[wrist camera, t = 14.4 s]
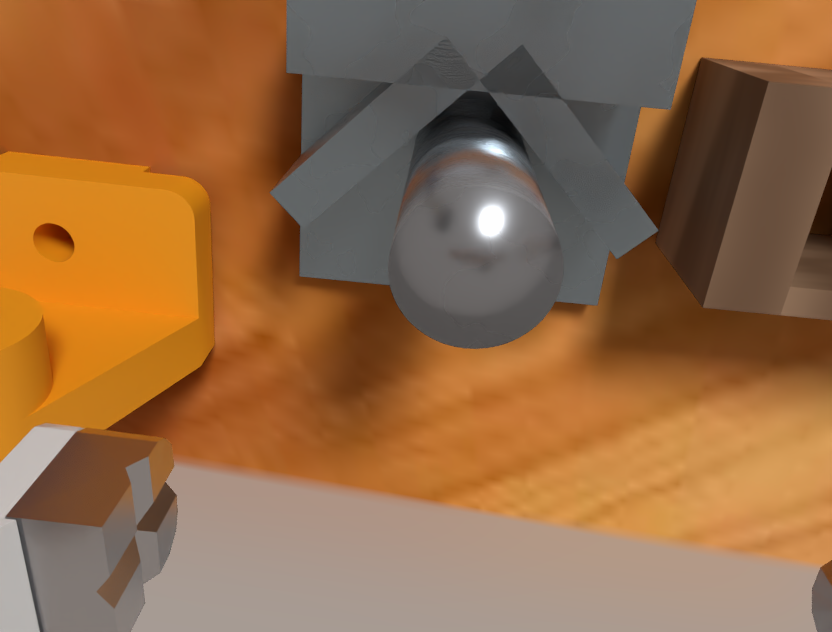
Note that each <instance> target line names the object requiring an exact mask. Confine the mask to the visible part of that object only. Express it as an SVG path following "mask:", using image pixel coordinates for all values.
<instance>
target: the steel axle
mask: <svg viewBox="0 0 832 632" xmlns="http://www.w3.org/2000/svg"><path fill="white" fill-rule="evenodd" d="M563 273H564V259H563V253H562V248H561V245H560V241H559V238H558V236H557V233H556V230H555V227H554V225H553V222H552V219H551V216H550V214H549V211H548V208H547V206H546V203H545V200H544V197H543V195H542V192H541V189H540V186H539V184H538V181H537V178H536V175H535V173H534V170H533V167H532V165H531V162H530V159H529V156H528V154H527V151H526V148H525V145H524V143H523V140H522V137H521V135H520V132H519V131H518V130H517V128H516V127H515V126H514V125H513V123H512V122H511V121H510V119H509V118H508V117H507V115H506V114H505V113H504V112H503V110H502V109H501V108H499V107H498V106H496V105H494V104H492V103H490V102H487V101H484V100H479V99H460V100H456V101H454V102H453V103H452V104H451V105H450V106H448V107H447V108H446V109H445V110H444V111H442V112H441V113H440V114H439V115H438V116H436V117H435V118H434V119H433V120H432V121H431V122H429V123H428V124H427V125H426V126H425V127H423V128H422V129H421V130H420V131H419V133H418V135H417V138H416V142H415V146H414V150H413V154H412V159H411V163H410V167H409V172H408V176H407V180H406V184H405V189H404V193H403V197H402V202H401V206H400V210H399V215H398V219H397V223H396V228H395V232H394V236H393V240H392V245H391V249H390V254H389V261H388V277H389V284H390V288H391V291H392V295H393V297H394V299H395V301H396V304H397V305H398V307H399V309H400V310H401V312H402V313H403V315H404V316H405V317H406V318H407V319H408V321H409V322H410V323H411V324H413V325H414V326H415V327H416V328H417V329H418V330H420V331H421V332H422V333H424V334H425V335H427V336H429V337H430V338H432V339H434V340H436V341H439V342H441V343H444V344H447V345H451V346H454V347H461V348H472V349H478V348H489V347H494V346H499V345H502V344H505V343H508V342H511V341H513V340H515V339H517V338H519V337H521V336H523V335H524V334H526V333H528V332H529V331H530V330H531V329H533V328H534V327H535V326H536V325H537V324H539V323H540V322H541V321H542V320H543V319H544V317H545V316H546V315H547V313H548V312H549V311H550V310H551V308H552V306H553V304H554V303H555V301H556V299H557V296H558V294H559V292H560V288H561V285H562V281H563Z"/></svg>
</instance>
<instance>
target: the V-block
mask: <svg viewBox="0 0 832 632" xmlns="http://www.w3.org/2000/svg"><path fill="white" fill-rule="evenodd" d="M696 1H697V0H287V63H286V73H295V74H302V133H301V155H300V157H299V158H298V159H297V160H296V161H295V163H294V164H293V165H292V166H291V167H290V169H289V170H288V171H287V172H286V173H285V175H284V176H283V177H282V178H281V180H280V181H279V182H278V183H277V184H276V186H275V187H274V188H273V189H272V190H271V192H270V194H271V195H272V196H273V197H274V198H275V199H276V200H277V201H278V202H279V203H280V204H281V205H282V207H283V208H284V209H285V210H286V211H287V212H288V213H289V214H290V215H291V216H292V217H293V218H294V219H295V220H296V221H297V223H298V224H299V225H300V276H302V277H312V278H322V279H332V280H342V281H353V282H363V283H373V284H383V285H390V284H389V277H388V261H389V254H390V249H391V245H392V240H393V236H394V232H395V228H396V223H397V219H398V215H399V210H400V206H401V202H402V197H403V193H404V189H405V184H406V180H407V176H408V172H409V167H410V163H411V159H412V154H413V150H414V146H415V142H416V138H417V135H418V133H419V131H420V130H421V129H422V128H423V127H425V126H426V125H427V124H428V123H429V122H431V121H432V120H433V119H434V118H435V117H436V116H438V115H439V114H440V113H441V112H442V111H444V110H445V109H446V108H447V107H448V106H450V105H451V104H452V103H453V102H454V101H456V100H460V99H479V100H484V101H487V102H490V103H492V104H494V105H496V106H498V107H499V108H501V109H502V110H503V112H504V113H505V114H506V115H507V117H508V118H509V119H510V121H511V122H512V123H513V125H514V126H515V127H516V128H517V130H518V131H519V132H520V135H521V137H522V140H523V143H524V145H525V148H526V151H527V154H528V156H529V159H530V162H531V165H532V167H533V170H534V173H535V175H536V178H537V181H538V184H539V186H540V189H541V192H542V195H543V197H544V200H545V203H546V206H547V208H548V211H549V214H550V216H551V219H552V222H553V225H554V227H555V230H556V233H557V236H558V238H559V241H560V245H561V248H562V253H563V259H564V273H563V281H562V285H561V288H560V292H559V294H558V296H557V299H556V301H557V302H567V303H577V304H587V305H598V300H599V296H600V291H601V287H602V282H603V277H604V273H605V268H606V264H607V259H608V255H609V250H610V251H611V252H612V254H613V255H614V256H615V257H616V259H618V258H620V257H621V256H622V255H624V254H625V253H627V252H628V251H630V250H631V249H633V248H634V247H635V246H637V245H638V244H640V243H641V242H643V241H644V240H646V239H647V238H649V237H650V236H651V235H653V234H654V233H656V232H657V231H659V230H658V229H657V228H656V226H655V225H654V224H653V222H652V221H651V219H650V218H649V217H648V215H647V214H646V213H645V211H644V210H643V209H642V207H641V206H640V204H639V203H638V202H637V200H636V199H635V198H634V196H633V195H632V193H631V192H630V191H629V189H628V188H627V187H626V185H625V184H624V182H625V177H626V173H627V168H628V164H629V159H630V155H631V150H632V145H633V141H634V136H635V132H636V127H637V123H638V118H639V114H640V109H641V107H648V108H658V109H669V110H671V106H672V102H673V97H674V93H675V89H676V85H677V81H678V76H679V72H680V68H681V64H682V60H683V55H684V51H685V47H686V43H687V39H688V34H689V30H690V26H691V22H692V18H693V13H694V9H695V5H696Z"/></svg>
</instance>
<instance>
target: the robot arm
mask: <svg viewBox="0 0 832 632" xmlns="http://www.w3.org/2000/svg"><path fill="white" fill-rule="evenodd" d="M173 467H174V460H173V452H172V444H171V443H170V442H169V441H168V440H167V439H166V438H161V437H154V436H146V435H139V434H131V433H124V432H116V431H109V430H101V429H94V428H81V427H75V426H67V425H59V424H51V423H44V424H41V425H38V426H35V427H34V428H32V429H31V430H30V432H29V433H28V434H27V435H26V436H25V437H24V438H23V439H22V440H21V441H20V442H19V443H18V444H17V445H16V446H15V447H14V448H13V449H12V451H11V452H10V453H9V454H8V455H7V456H6V457H5V458H4V459H3V460H2V461H1V462H0V632H131V630H132V628H133V626H134V624H135V622H136V620H137V618H138V616H139V614H140V612H141V610H142V608H143V606H144V604H145V598H144V589H143V584H144V583H146V582H147V581H148V580H150V579H152V578H153V577H155V576H156V575H158V574H159V573H160V572H161V570H162V568H163V566H164V564H165V562H166V560H167V558H168V556H169V554H170V550H171V546H172V543H173V539H174V535H175V532H176V525H177V513H178V508H177V495H176V494H175V493H174V492H173V490H172V489H171V488H170V487H169V486H168V485H167V483H166V482H165V481H166V480H167V478H168V476H169V474H170V473H171V471H172V469H173ZM812 614H813V617H814V621H815V625H816V629H817V631H818V632H832V560H831V561H830V562H828V563H827V564H825V565H824V566H822V567H821V568H820V570H819V573H818V575H817V578H816V580H815V583H814V585H813V588H812Z"/></svg>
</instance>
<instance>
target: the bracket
mask: <svg viewBox="0 0 832 632" xmlns="http://www.w3.org/2000/svg"><path fill="white" fill-rule="evenodd" d="M214 345H215V340H214V309H213V277H212V245H211V214H210V200H209V197H208V194H207V192H206V191H205V189H204V188H203V187H202V186H201V185H200V184H199V183H198V182H196V181H195V180H193V179H191V178H188V177H184V176H176V175H166V174H157V173H150V167H147V166H138V165H128V164H119V163H110V162H101V161H92V160H83V159H74V158H64V157H55V156H46V155H37V154H28V153H19V152H10V151H9V152H6V153H4V154H1V155H0V462H1V461H2V460H3V459H4V458H5V457H6V456H7V455H8V454H9V453H10V452H11V451H12V449H13V448H14V447H15V446H16V445H17V444H18V443H19V442H20V441H21V440H22V439H23V438H24V437H25V436H26V435H27V434H28V433H29V432H30V430H31V429H32V428H34V427H35V426H38V425H41V424H44V423H51V424H59V425H67V426H75V427H81V428H94V429H101V430H105V429H107V428H108V427H110V426H111V425H113V424H114V423H116V422H117V421H119V420H120V419H122V418H123V417H125V416H126V415H128V414H129V413H131V412H132V411H134V410H135V409H137V408H138V407H140V406H141V405H143V404H144V403H146V402H147V401H149V400H150V399H152V398H153V397H155V396H157V395H158V394H160V393H161V392H163V391H164V390H166V389H167V388H169V387H170V386H172V385H173V384H175V383H176V382H178V381H179V380H181V379H182V378H184V377H185V376H187V375H188V374H190V373H191V372H193V371H194V370H196V369H197V368H199V367H200V366H201V365H202V363H203V362H204V360H205V359H206V357H207V356H208V354H209V352H210V351H211V349H212V348H213V346H214Z"/></svg>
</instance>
